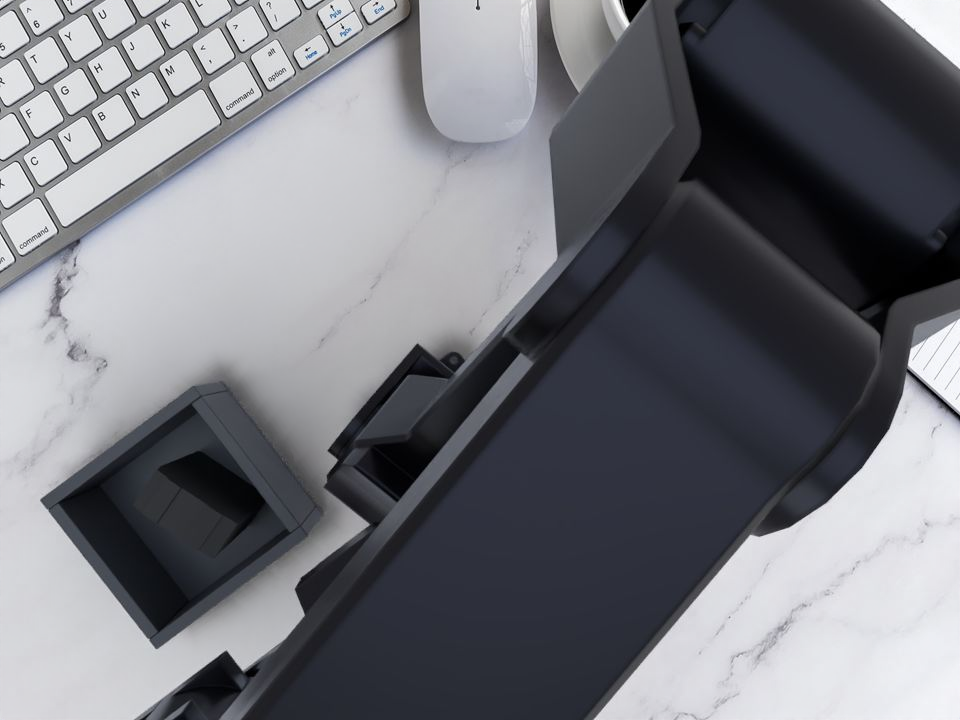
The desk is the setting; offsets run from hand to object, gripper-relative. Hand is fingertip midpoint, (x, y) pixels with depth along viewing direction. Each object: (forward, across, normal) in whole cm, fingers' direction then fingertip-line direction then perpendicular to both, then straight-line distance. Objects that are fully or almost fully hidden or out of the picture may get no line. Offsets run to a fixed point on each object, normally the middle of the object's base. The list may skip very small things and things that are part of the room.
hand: (274, 656), depth 39 cm
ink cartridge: (+12, -1, +8) cm, 14 cm away
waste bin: (+12, -2, +8) cm, 15 cm away
